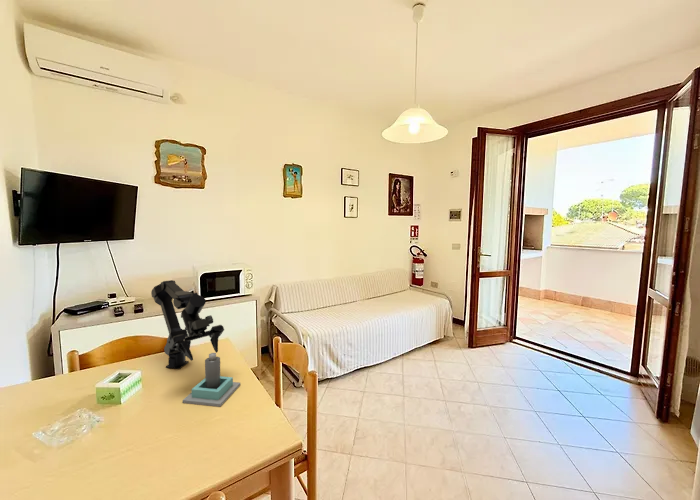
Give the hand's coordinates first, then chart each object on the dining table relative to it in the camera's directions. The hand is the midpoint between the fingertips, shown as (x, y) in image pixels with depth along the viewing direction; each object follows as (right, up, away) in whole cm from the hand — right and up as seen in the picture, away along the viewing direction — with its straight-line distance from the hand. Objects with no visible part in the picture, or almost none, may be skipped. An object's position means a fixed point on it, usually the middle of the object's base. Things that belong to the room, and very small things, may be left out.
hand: (205, 355), depth 111 cm
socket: (+4, -13, -3) cm, 14 cm away
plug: (+4, -12, -3) cm, 13 cm away
